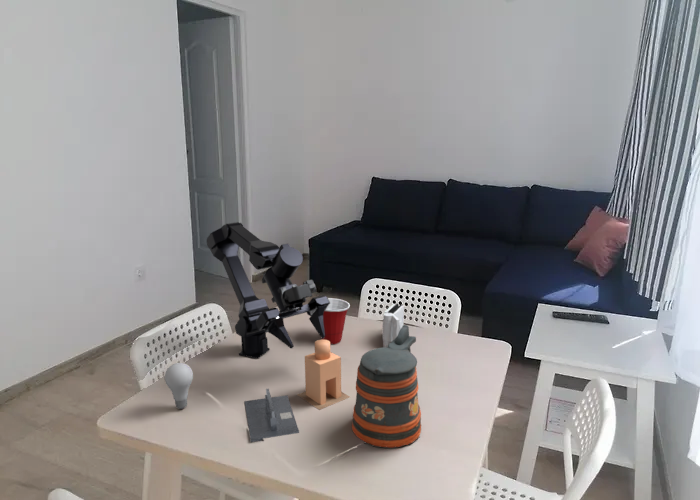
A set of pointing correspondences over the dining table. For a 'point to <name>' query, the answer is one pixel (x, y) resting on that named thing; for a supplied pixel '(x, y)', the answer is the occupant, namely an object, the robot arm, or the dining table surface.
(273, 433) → the grey finned plate
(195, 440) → the dining table surface
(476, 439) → the dining table surface
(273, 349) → the dining table surface
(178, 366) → the lightbulb
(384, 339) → the white box
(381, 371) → the beer stein
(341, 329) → the plastic cup
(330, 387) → the arched stamp block
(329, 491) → the dining table surface
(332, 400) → the thin square tan tile
